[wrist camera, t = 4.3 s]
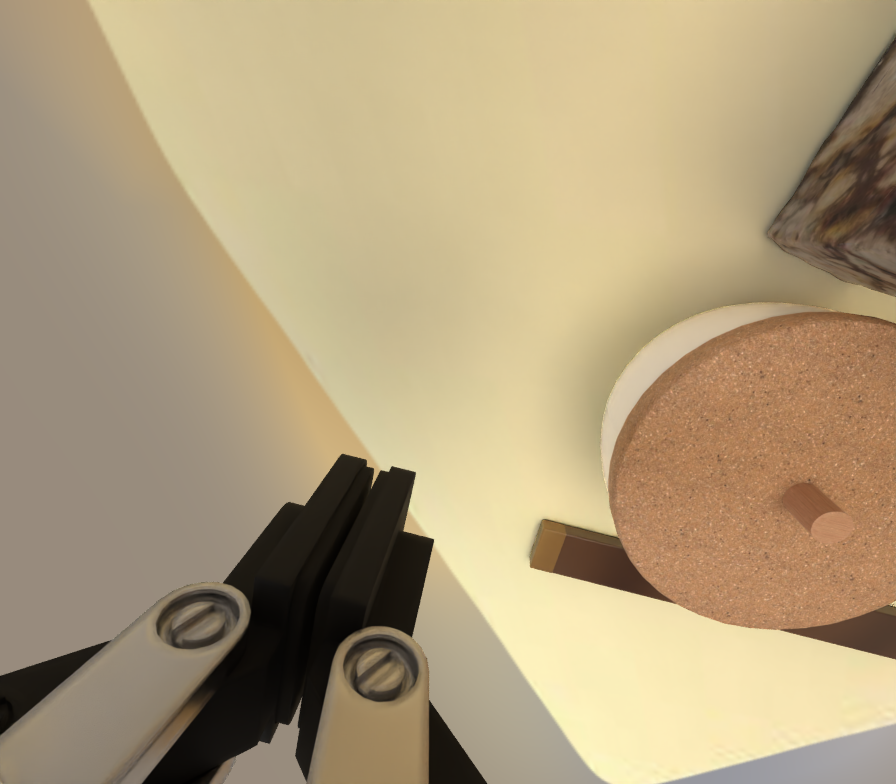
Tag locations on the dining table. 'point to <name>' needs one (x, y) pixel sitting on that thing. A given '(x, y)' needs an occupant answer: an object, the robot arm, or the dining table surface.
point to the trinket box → (759, 464)
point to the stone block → (851, 192)
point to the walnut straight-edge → (612, 568)
